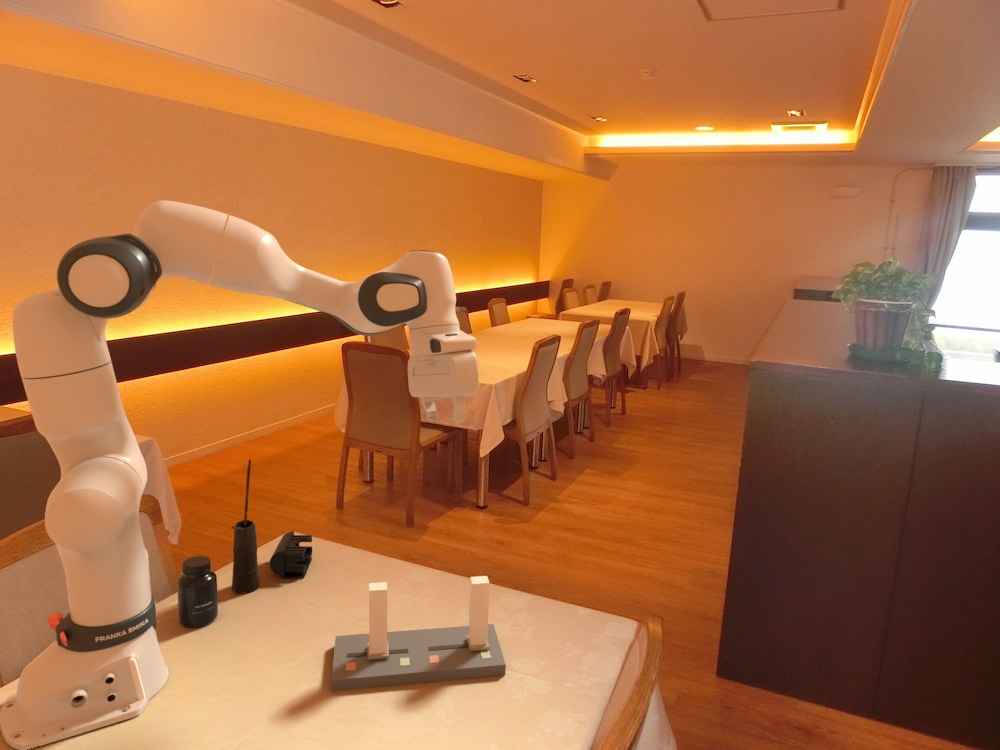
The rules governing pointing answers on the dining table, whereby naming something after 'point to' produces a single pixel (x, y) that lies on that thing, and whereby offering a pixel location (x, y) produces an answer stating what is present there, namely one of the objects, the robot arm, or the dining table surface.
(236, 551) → the butter churn
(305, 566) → the end cap
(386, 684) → the breaker panel
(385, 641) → the breaker lever
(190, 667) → the dining table surface
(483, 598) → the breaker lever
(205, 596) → the supplement bottle
